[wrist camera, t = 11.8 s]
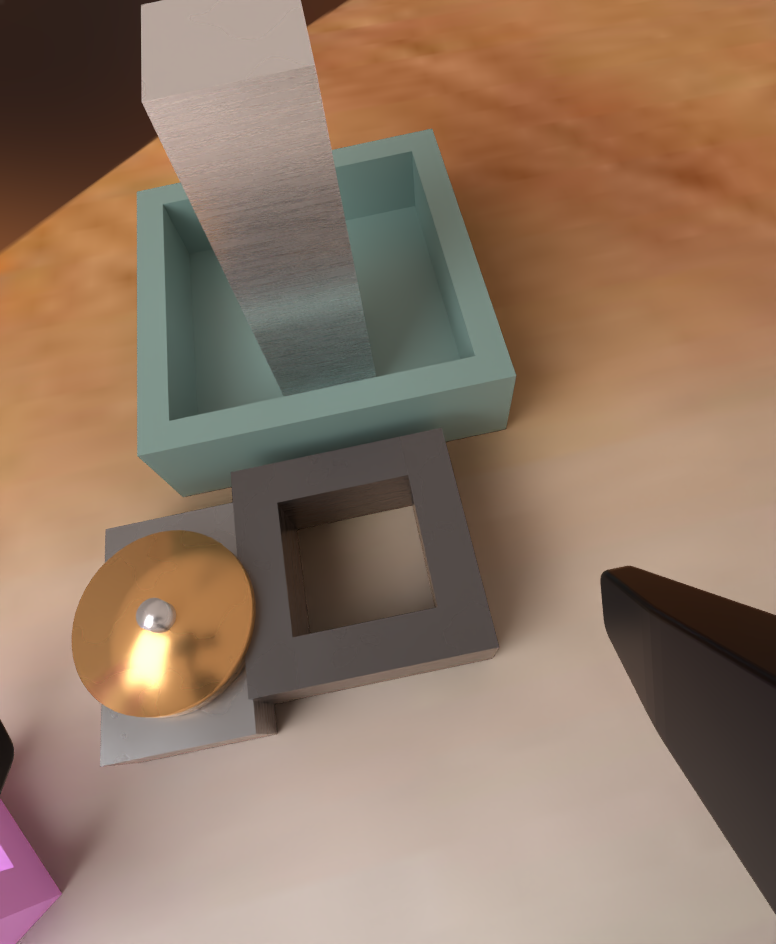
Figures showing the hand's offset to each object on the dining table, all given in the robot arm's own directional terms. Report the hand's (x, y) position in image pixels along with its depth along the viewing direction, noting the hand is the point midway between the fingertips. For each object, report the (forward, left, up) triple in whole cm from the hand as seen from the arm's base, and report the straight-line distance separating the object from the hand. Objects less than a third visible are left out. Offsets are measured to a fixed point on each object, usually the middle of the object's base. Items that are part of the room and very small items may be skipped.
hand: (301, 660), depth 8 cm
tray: (+10, -13, -13) cm, 21 cm away
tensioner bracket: (+5, -2, -13) cm, 14 cm away
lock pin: (+9, -12, -12) cm, 19 cm away
